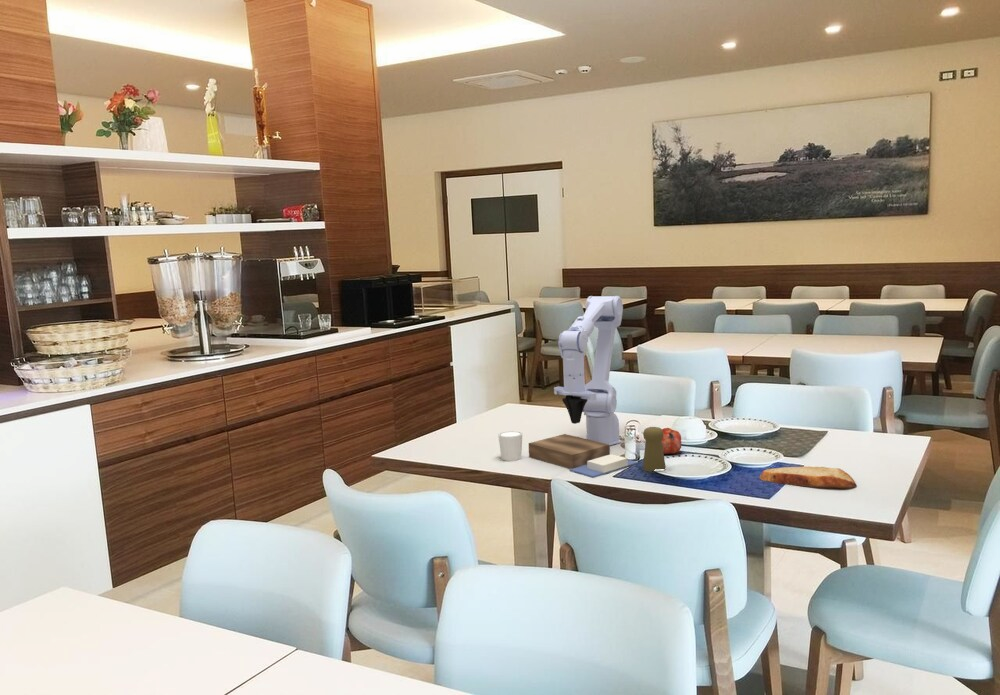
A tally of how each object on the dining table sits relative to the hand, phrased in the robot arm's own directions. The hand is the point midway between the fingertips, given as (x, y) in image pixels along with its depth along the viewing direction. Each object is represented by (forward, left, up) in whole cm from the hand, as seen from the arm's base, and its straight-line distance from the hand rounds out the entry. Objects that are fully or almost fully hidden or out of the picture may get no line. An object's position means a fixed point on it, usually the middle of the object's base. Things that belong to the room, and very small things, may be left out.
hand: (575, 422), depth 223 cm
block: (+1, +12, -8) cm, 15 cm away
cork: (-7, +21, -11) cm, 25 cm away
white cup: (+12, -15, -11) cm, 21 cm away
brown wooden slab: (+1, -3, -10) cm, 11 cm away
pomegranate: (-21, +14, -11) cm, 28 cm away
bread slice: (-24, +55, -11) cm, 61 cm away
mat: (+1, +11, -10) cm, 15 cm away
